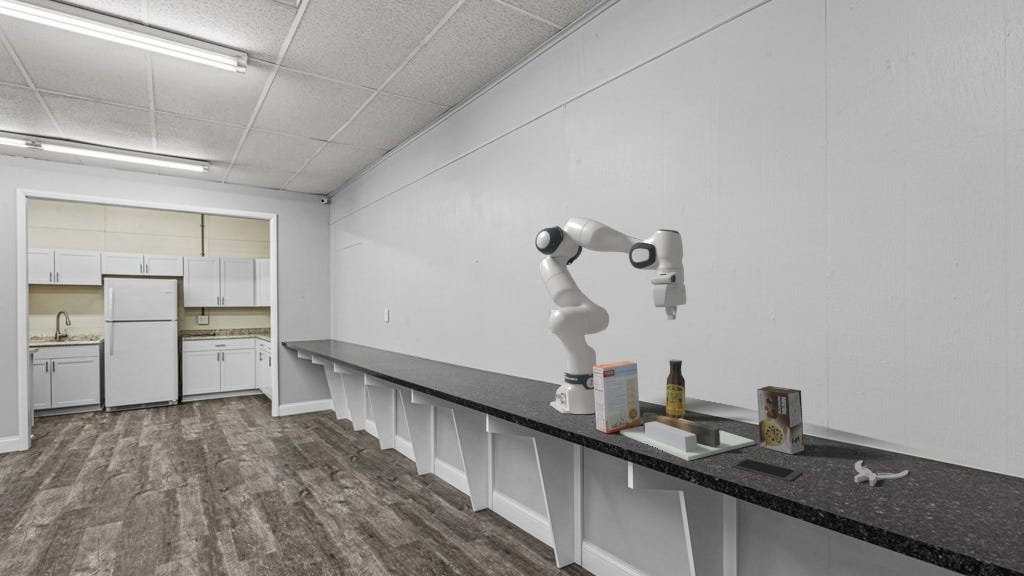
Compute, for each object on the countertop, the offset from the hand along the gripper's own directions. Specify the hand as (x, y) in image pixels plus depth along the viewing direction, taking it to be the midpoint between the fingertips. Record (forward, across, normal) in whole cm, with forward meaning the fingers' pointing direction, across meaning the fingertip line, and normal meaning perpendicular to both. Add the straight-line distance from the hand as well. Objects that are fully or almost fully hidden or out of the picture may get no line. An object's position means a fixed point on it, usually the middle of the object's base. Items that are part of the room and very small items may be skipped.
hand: (671, 319), depth 159 cm
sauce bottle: (+34, -7, -2) cm, 35 cm away
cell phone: (+35, +28, +32) cm, 55 cm away
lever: (+33, +17, +7) cm, 37 cm away
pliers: (+35, +18, +53) cm, 66 cm away
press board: (+34, +14, +7) cm, 38 cm away
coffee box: (+34, +9, +32) cm, 48 cm away
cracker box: (+34, +14, -14) cm, 40 cm away
